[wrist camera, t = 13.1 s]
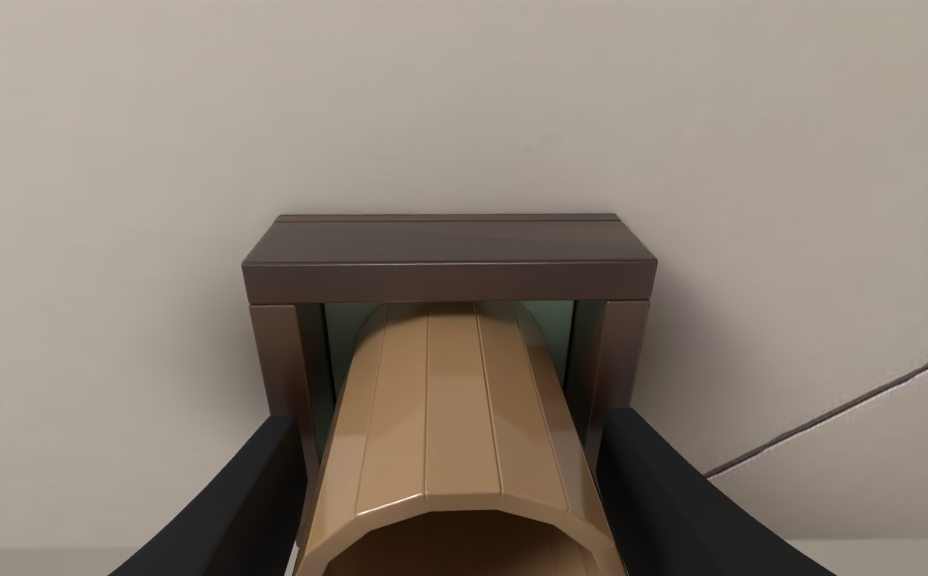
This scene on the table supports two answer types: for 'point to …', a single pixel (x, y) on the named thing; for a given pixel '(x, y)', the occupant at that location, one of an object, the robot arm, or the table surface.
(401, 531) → the paper cup
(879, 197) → the table surface
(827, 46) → the table surface
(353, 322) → the cup holder
